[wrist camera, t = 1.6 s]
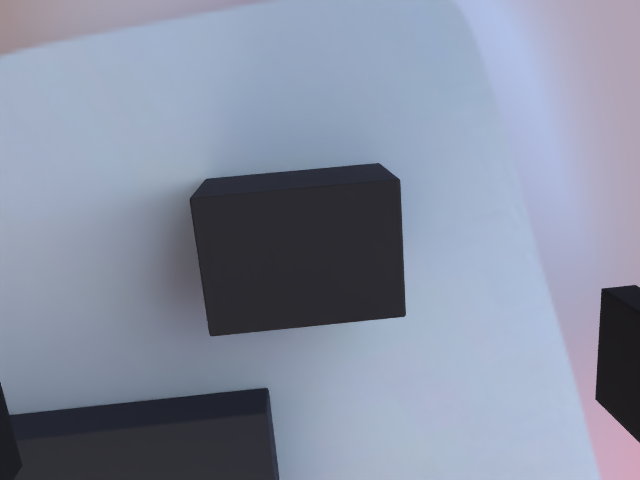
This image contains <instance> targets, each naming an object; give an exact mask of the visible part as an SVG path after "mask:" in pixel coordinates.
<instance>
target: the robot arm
mask: <svg viewBox="0 0 640 480" xmlns="http://www.w3.org/2000/svg"><path fill="white" fill-rule="evenodd" d="M595 399H596V400H597V401H598V402H599V403H600V404H601V405H602V406H603V407H604V408H605V409H606V410H607V411H608V412H609V413H610V414H611V415H612V416H613V417H614V418H615V419H616V420H617V421H618V422H619V423H620V424H621V425H622V426H623V427H624V428H625V429H626V430H627V431H629V433H630V434H631V435H632V436H633V437H634V438H635V439H636V440H637V441H638V442H640V287H638V286H636V285H632V286H622V287H613V288H604V289H602V292H601V311H600V327H599V345H598V363H597V381H596V398H595ZM22 466H23V465H22V461H21V457H20V453H19V450H18V446H17V442H16V439H15V435H14V431H13V427H12V424H11V420H10V416H9V413H8V409H7V405H6V402H5V398H4V394H3V390H2V387H1V383H0V480H13V479H14V478H15V477H16V475H17V474H18V472H19V471H20V469H21V468H22Z"/></svg>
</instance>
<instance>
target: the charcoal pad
mask: <svg viewBox="0 0 640 480" xmlns="http://www.w3.org/2000/svg"><path fill="white" fill-rule="evenodd" d="M10 420H11V424H12V427H13V431H14V435H15V439H16V442H17V446H18V450H19V453H20V457H21V461H22V465H23V466H22V468H21V469H20V471H19V472H18V474H17V475H16V477H15V478H14V479H13V480H279V472H278V464H277V456H276V447H275V439H274V431H273V422H272V414H271V406H270V397H269V390H268V388H264V389H254V390H245V391H235V392H226V393H217V394H207V395H198V396H188V397H179V398H170V399H160V400H151V401H141V402H132V403H123V404H113V405H104V406H94V407H85V408H76V409H66V410H57V411H48V412H38V413H29V414H19V415H10Z"/></svg>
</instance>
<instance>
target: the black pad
mask: <svg viewBox="0 0 640 480" xmlns="http://www.w3.org/2000/svg"><path fill="white" fill-rule="evenodd" d="M190 206H191V213H192V220H193V226H194V233H195V240H196V247H197V253H198V260H199V267H200V274H201V280H202V287H203V294H204V301H205V307H206V314H207V321H208V328H209V334H210V336H220V335H230V334H240V333H249V332H259V331H269V330H279V329H289V328H298V327H308V326H318V325H328V324H338V323H347V322H357V321H367V320H377V319H387V318H396V317H404V316H405V315H406V309H405V284H404V260H403V236H402V212H401V188H400V179H399V178H397V177H396V176H395V175H393V174H392V173H391V172H390V171H388V170H387V169H386V168H385V167H383V166H382V165H381V164H379V163H376V164H365V165H354V166H343V167H332V168H321V169H310V170H299V171H288V172H277V173H266V174H255V175H243V176H232V177H221V178H210V179H206V180H205V181H204V182H203V183H202V185H201V186H200V187H199V188H198V189H197V191H196V192H195V193H194V194H193V195H192V197H191V198H190Z"/></svg>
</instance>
